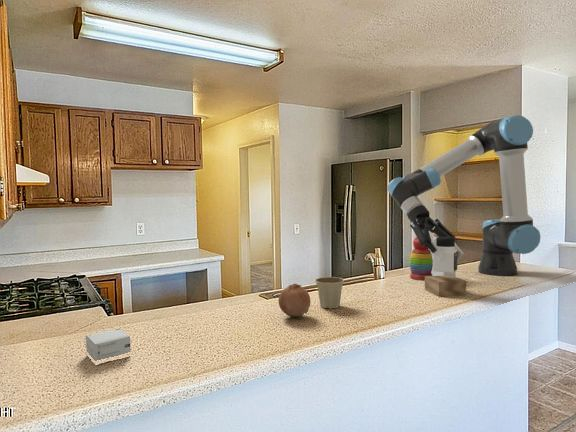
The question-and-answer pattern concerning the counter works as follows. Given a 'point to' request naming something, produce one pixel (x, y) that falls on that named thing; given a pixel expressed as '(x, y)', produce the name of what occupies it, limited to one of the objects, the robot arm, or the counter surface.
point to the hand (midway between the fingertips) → (451, 257)
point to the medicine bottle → (446, 255)
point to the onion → (294, 301)
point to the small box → (107, 344)
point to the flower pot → (329, 291)
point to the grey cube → (442, 273)
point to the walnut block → (445, 285)
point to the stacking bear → (420, 261)
